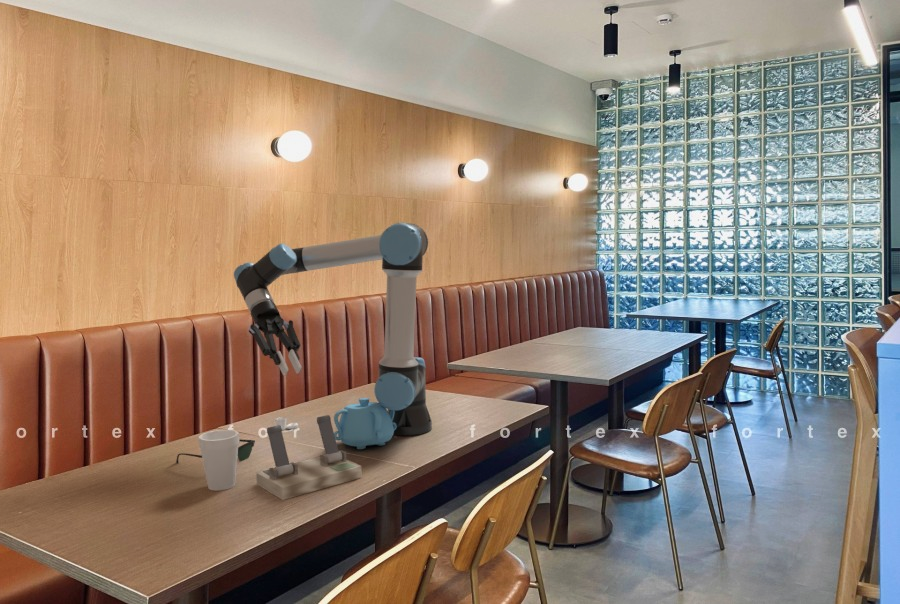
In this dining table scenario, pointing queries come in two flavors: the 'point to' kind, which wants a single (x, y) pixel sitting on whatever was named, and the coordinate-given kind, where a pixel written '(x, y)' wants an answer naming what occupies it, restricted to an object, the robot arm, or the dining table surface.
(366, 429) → the decorative pot
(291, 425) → the teacup and saucer
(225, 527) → the dining table surface
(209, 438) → the foam cup
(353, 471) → the switch base
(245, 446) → the sunglasses
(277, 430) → the lever
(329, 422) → the lever
